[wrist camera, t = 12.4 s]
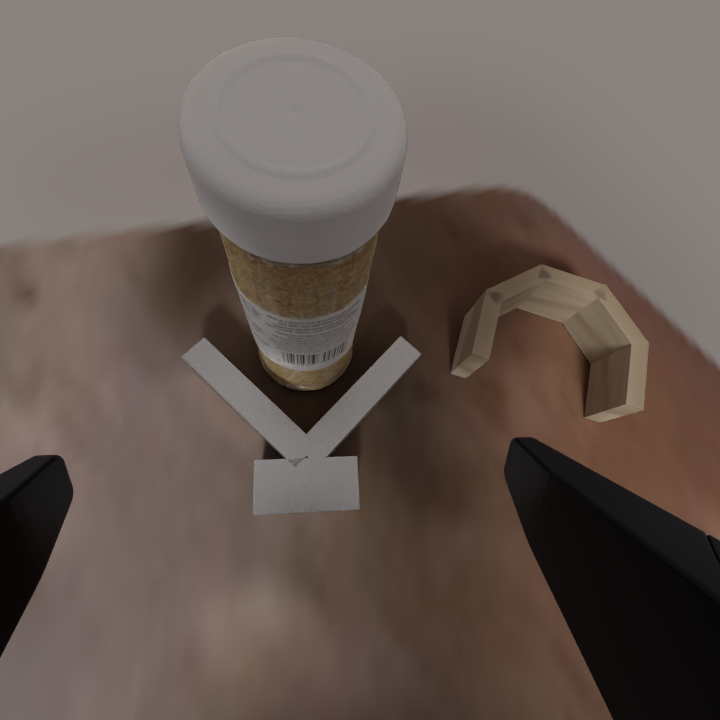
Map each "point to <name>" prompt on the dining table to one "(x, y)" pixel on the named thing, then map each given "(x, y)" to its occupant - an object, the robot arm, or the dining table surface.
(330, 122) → the sprinkles bottle
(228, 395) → the V-block
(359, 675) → the dining table surface
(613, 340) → the wooden collar
